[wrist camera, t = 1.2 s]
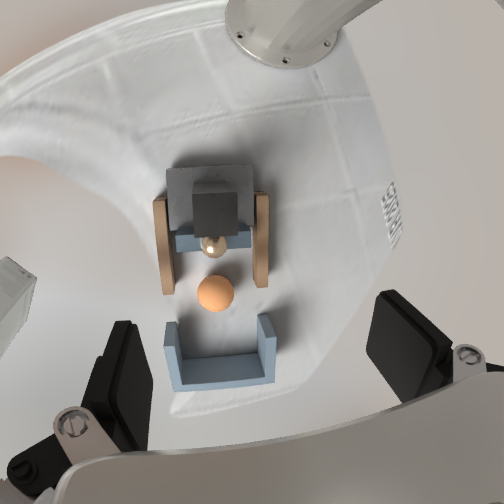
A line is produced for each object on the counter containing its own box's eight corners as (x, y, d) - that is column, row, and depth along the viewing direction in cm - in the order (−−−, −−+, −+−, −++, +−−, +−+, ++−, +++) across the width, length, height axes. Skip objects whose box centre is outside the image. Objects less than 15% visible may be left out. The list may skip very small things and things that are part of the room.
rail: (156, 197, 30) (152, 201, 28) (263, 191, 32) (268, 195, 30) (165, 284, 33) (163, 294, 31) (263, 277, 35) (268, 287, 33)
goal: (166, 322, 35) (163, 346, 30) (266, 314, 37) (276, 336, 32) (174, 366, 37) (173, 392, 33) (266, 358, 39) (274, 382, 35)
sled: (168, 168, 29) (154, 177, 20) (250, 164, 30) (273, 171, 21) (173, 242, 32) (164, 282, 22) (250, 237, 33) (272, 274, 24)
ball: (195, 270, 34) (195, 286, 30) (231, 268, 34) (235, 283, 30) (198, 302, 35) (199, 319, 31) (232, 299, 36) (236, 316, 32)
